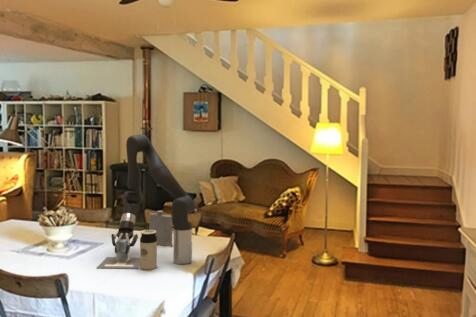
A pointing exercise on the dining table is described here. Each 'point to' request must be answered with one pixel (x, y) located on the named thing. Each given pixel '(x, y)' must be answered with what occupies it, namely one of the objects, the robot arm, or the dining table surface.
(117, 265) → the letter board
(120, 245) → the slate block
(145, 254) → the travel mug
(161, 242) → the hip flask
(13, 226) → the dining table surface
